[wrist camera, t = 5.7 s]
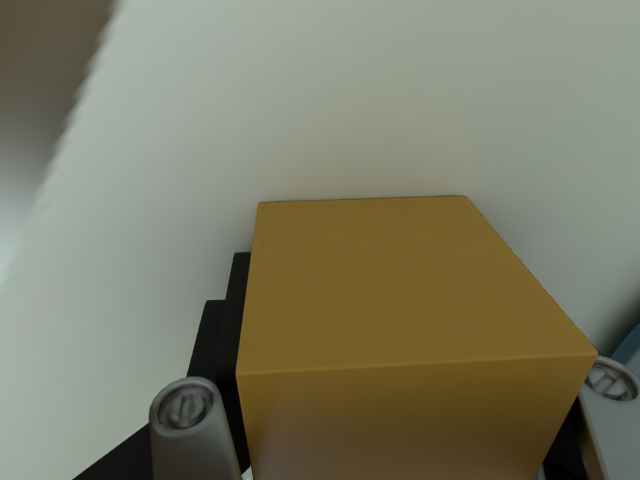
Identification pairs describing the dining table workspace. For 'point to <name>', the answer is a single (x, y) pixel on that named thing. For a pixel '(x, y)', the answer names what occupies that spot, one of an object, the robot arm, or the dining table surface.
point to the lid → (629, 351)
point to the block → (399, 346)
